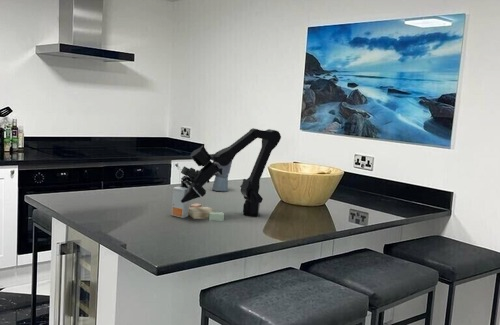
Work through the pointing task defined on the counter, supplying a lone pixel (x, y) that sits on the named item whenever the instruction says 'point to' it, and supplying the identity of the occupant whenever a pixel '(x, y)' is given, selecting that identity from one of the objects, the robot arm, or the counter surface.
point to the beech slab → (200, 212)
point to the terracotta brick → (196, 205)
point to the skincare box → (179, 202)
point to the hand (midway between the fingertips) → (178, 199)
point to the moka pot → (222, 178)
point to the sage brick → (216, 216)
